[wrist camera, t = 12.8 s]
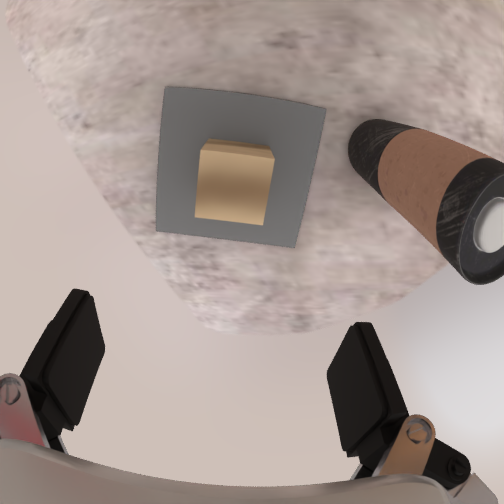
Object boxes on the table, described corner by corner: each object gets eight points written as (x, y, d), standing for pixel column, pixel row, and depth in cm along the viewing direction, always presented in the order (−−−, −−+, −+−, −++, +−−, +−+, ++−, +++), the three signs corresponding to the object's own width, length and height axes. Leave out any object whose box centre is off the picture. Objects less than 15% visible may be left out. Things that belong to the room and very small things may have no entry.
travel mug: (351, 188, 32) (448, 302, 15) (339, 122, 28) (459, 180, 11) (409, 175, 31) (526, 267, 14) (401, 112, 27) (542, 162, 10)
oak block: (208, 138, 28) (200, 149, 23) (269, 146, 29) (274, 159, 23) (203, 194, 31) (194, 217, 26) (259, 201, 32) (262, 225, 26)
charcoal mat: (167, 86, 26) (165, 86, 25) (324, 108, 28) (326, 108, 27) (157, 227, 34) (155, 231, 33) (293, 244, 35) (294, 248, 35)
